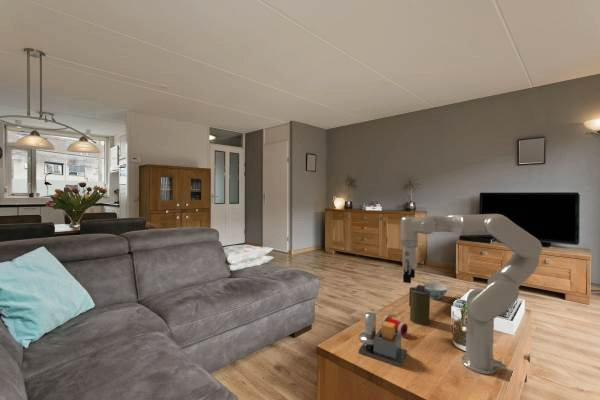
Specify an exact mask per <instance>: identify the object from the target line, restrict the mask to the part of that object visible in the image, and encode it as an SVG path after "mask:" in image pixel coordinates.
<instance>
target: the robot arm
mask: <svg viewBox="0 0 600 400" xmlns="http://www.w3.org/2000/svg"><path fill="white" fill-rule="evenodd" d="M435 232H436V233H437V232H438V233H439V232H440V233H442V232H444V233H453V234H456V235H457V234H458V235H462V236H463V235H464V236H465V235H468V236H470V235H471V236H472V235H473V236H474V235H475V236H477V235H478V236H483V235H484V236H485V235H486V236H488V235H489V236H492V237H493V238H495V239H496V240H497V241H498V242H500V243H501V244H503V245H504V246H505V247H507V248H508V249H510V250H511V251H512V255H511V258H509V260H508V261H506V263H504V264H503V265H502V266H501V267H500V268H498V270H496V271H495V272H494V273H492V274H491V275H490V276H489V277H488V279H487V282H486V283H487V286H486V287H484V288H483V289H482V288H475V289H472V290H471V291H469V293H468V295H467V298H466V305H467V306H466V331H465V333H466V334H465V335H466V337H465V338H466V339H465V354H463V355H462V356H461V359H460V360H461V363H462V365H464V366H465V367H466V368H468V369H469V370H471V371H473V372H476V373H480V374H484V375H493V374H496V372H497V371H498V369H500V370H504V371H507V364H504V363H503V361H501V360H497V359H495V358H494V355H493V354H494V333H495V331H494V328H495V319H496V318H497V317H498V316H499V315H501V314H502V313H504V312H505V311H506V310H508V308H510V307H511V306H512V305H513V304H514V303H515V302H516V301H517V300H518V298H519V296H520V286H521V285H522V284H524V283H525V282H526V281H527V280H528V279H529V278H530V277H531V276H532V275H533V274H534V273H535V272H536V270H537V268H538V266H539V265H540V257H541V253H542V251H543V245H542V243H541V241H540V240H539V239H538V238H537V237H536V236H534V235H532V234H530V233H529V232H528V231H526V230H525V229H524V228H522V227H521V226H519V225H518V224H516V223H515V222H514V221H512V220H511V219H509V218H508V217H507V216H505V215H503V214H500V213H483V214H481V213H480V214H479V213H478V214H477V213H475V214H455V215H430V216H429V215H427V216H424V217H416V216H402V217H401V218H400V247H402V268H403V271H402V272H403V273H402V274H403V275H402V276H403V277H402V278H403V279H402V281H403V283H406V284H411V283H412V279H415V277H416V275H415V274H416V267H417V266H418V259H417V257H418V255H417V248H418V247H419V234H423V235H431V234H433V233H435Z"/></svg>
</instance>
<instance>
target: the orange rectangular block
mask: <svg viewBox="0 0 600 400" xmlns="http://www.w3.org/2000/svg"><path fill="white" fill-rule="evenodd" d="M381 329H382V338H385V339H389V340H392V341H393V340H394V339H395V333H396V332H395V324H394V323H390V322H386V321H385V322H384V323H383V324H382V323H381Z"/></svg>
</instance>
